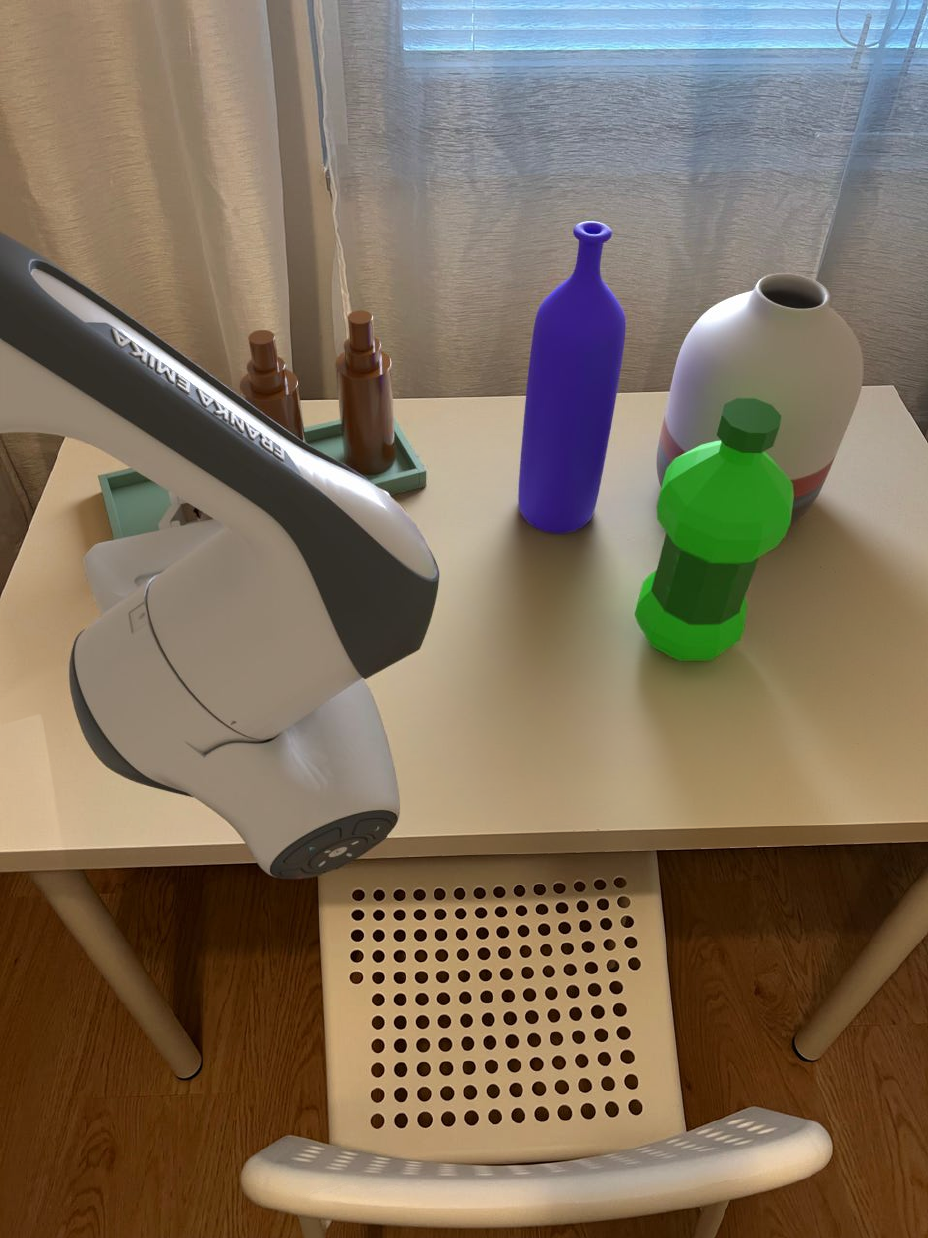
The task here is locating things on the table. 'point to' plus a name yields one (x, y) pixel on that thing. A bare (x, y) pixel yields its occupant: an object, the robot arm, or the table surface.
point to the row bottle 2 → (365, 399)
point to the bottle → (571, 393)
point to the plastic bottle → (715, 534)
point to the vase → (769, 378)
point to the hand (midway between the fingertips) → (229, 486)
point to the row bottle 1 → (272, 384)
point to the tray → (145, 503)
